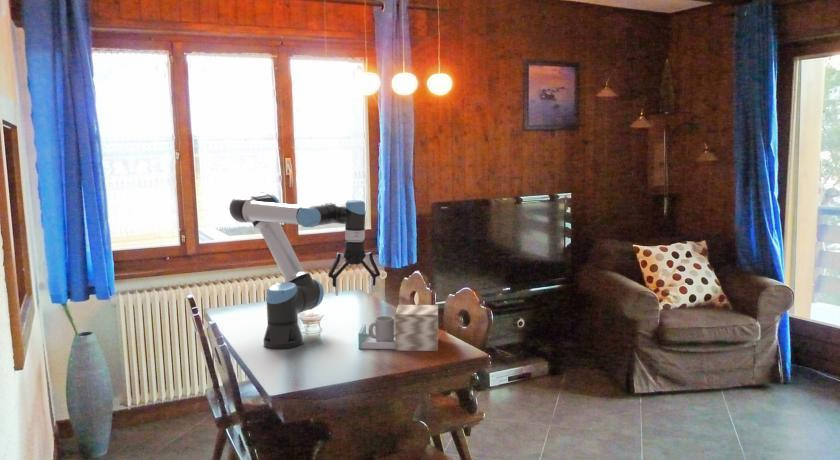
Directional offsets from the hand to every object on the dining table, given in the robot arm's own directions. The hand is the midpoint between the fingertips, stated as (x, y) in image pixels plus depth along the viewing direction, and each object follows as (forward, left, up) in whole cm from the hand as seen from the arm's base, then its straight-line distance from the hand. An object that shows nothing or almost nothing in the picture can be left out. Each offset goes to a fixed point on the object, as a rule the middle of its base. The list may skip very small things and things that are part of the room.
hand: (353, 294), depth 253 cm
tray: (+12, -1, -20) cm, 23 cm away
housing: (+25, -1, -20) cm, 32 cm away
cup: (+11, -1, -19) cm, 21 cm away
